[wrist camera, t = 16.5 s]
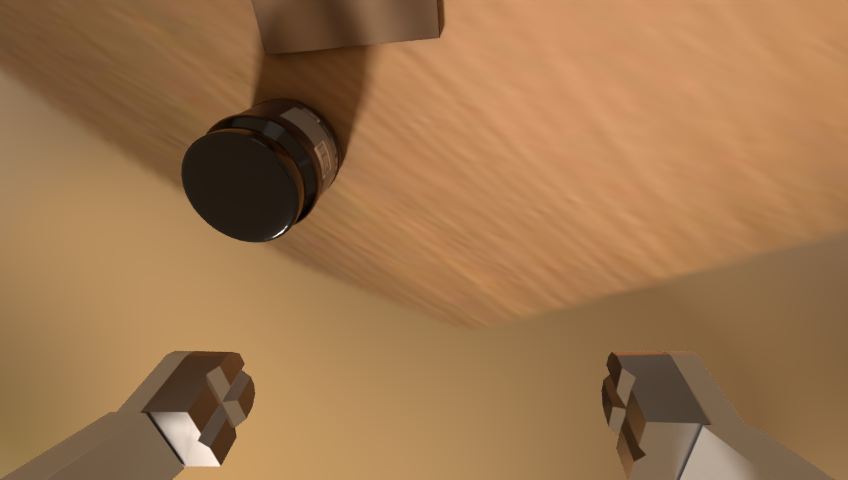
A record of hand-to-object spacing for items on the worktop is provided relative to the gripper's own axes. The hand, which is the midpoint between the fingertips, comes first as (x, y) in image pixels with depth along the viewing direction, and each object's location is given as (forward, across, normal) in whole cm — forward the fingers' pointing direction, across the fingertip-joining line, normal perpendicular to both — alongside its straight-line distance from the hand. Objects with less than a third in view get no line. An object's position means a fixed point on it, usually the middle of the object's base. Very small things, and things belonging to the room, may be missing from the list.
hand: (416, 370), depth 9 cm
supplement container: (+33, +17, +4) cm, 38 cm away
